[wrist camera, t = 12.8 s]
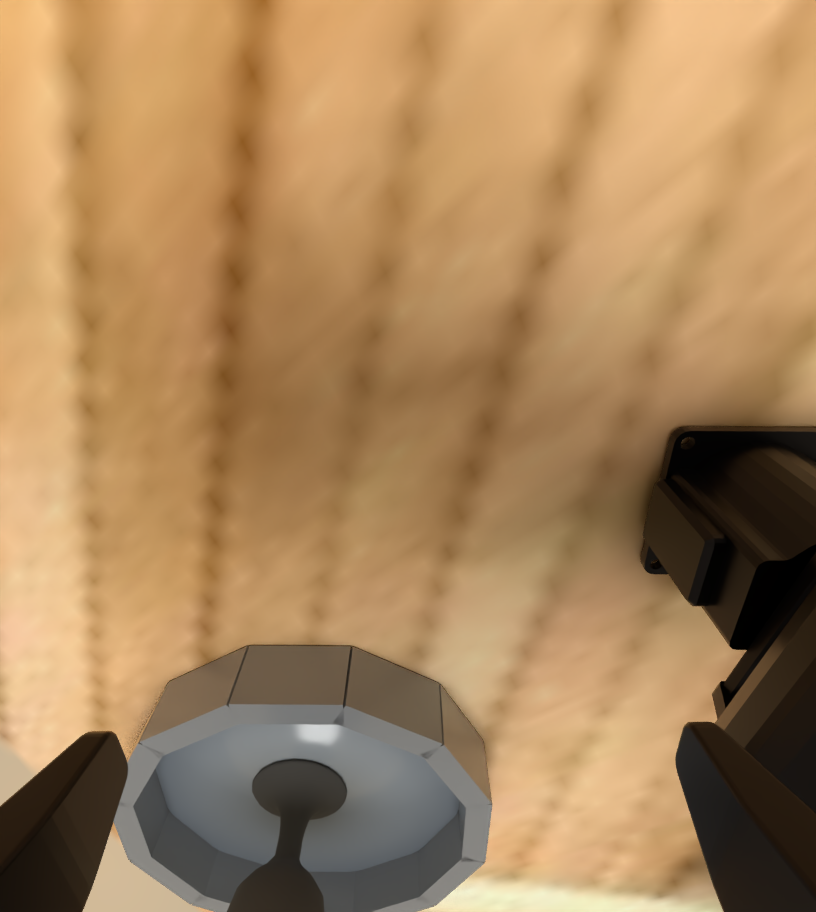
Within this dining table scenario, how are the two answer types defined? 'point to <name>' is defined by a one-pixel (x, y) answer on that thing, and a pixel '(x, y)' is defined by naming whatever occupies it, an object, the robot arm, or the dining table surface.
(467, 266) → the dining table surface
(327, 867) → the grey polygonal tray
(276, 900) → the sundae
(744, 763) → the robot arm
